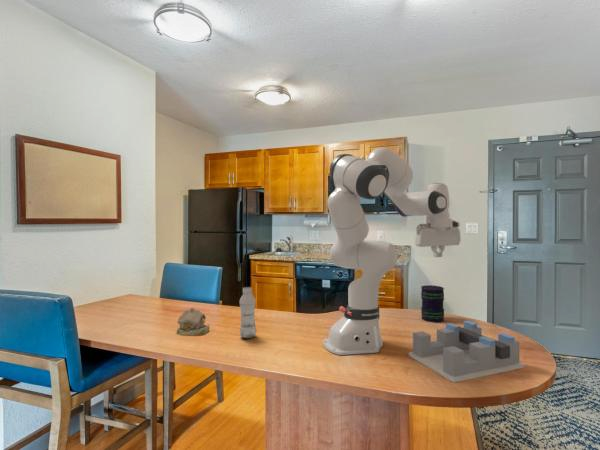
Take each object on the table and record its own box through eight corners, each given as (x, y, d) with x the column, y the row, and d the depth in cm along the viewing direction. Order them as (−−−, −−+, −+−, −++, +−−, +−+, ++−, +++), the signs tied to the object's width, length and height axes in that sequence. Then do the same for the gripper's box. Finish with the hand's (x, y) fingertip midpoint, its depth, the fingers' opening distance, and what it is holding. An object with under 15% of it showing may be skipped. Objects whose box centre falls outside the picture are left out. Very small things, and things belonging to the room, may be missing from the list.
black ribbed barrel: (421, 321, 148) (420, 288, 148) (421, 315, 158) (421, 284, 157) (444, 323, 145) (444, 290, 145) (443, 317, 154) (443, 286, 154)
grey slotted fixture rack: (453, 382, 92) (453, 349, 92) (408, 355, 111) (408, 327, 111) (524, 367, 101) (524, 337, 101) (472, 344, 120) (472, 319, 120)
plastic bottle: (259, 335, 132) (258, 286, 132) (250, 341, 126) (249, 290, 126) (246, 333, 135) (245, 285, 135) (236, 339, 129) (235, 288, 129)
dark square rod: (501, 359, 98) (501, 347, 98) (450, 337, 117) (450, 327, 117) (510, 357, 99) (510, 345, 99) (458, 335, 118) (458, 326, 118)
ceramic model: (170, 334, 135) (170, 311, 135) (185, 326, 146) (185, 304, 146) (201, 337, 132) (201, 312, 132) (214, 328, 143) (214, 305, 143)
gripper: (422, 223, 127) (422, 259, 127) (463, 223, 134) (463, 256, 134) (411, 223, 133) (411, 257, 133) (451, 223, 140) (451, 255, 140)
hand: (438, 257), depth 133 cm, fingers closed
